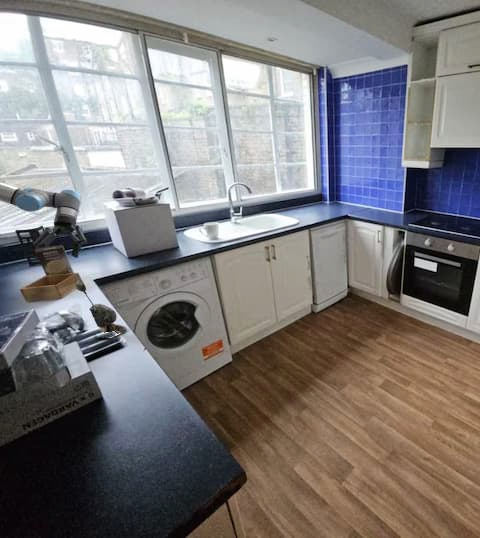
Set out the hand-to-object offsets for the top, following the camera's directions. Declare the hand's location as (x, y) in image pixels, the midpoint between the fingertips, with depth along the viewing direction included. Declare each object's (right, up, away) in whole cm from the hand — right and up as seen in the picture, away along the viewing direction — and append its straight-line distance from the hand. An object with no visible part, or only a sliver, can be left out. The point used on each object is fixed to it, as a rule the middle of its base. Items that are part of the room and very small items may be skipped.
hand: (57, 258), depth 135 cm
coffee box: (+1, -11, +2) cm, 11 cm away
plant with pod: (+59, -27, -40) cm, 76 cm away
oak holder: (+10, -15, -10) cm, 20 cm away
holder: (-34, -2, +26) cm, 42 cm away
